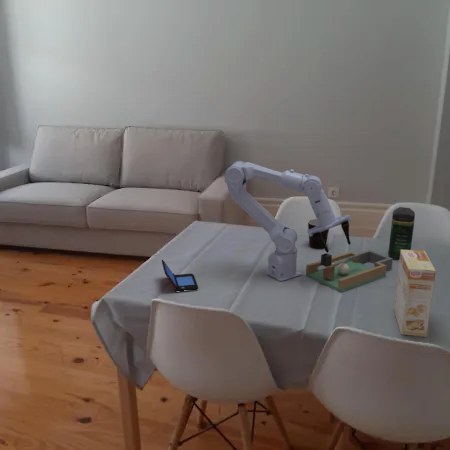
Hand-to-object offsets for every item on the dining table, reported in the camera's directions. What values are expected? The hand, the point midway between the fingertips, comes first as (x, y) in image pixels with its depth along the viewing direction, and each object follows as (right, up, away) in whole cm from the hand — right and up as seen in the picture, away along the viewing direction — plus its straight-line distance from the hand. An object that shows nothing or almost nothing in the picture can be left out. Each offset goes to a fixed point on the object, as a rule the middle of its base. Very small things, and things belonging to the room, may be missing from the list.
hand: (338, 247), depth 172 cm
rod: (+1, -9, +4) cm, 10 cm away
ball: (+3, -7, +4) cm, 9 cm away
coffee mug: (0, -1, +35) cm, 35 cm away
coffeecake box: (+15, -20, -25) cm, 35 cm away
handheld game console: (-53, -13, 0) cm, 54 cm away
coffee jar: (+28, -4, +23) cm, 36 cm away
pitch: (+7, -9, +8) cm, 14 cm away
